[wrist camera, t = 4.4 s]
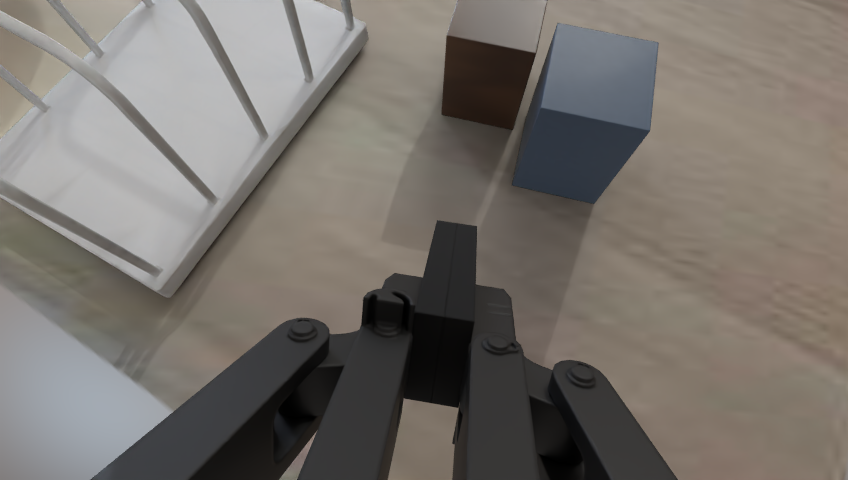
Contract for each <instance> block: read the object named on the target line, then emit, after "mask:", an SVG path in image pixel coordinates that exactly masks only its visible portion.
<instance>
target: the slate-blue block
mask: <svg viewBox="0 0 848 480" xmlns="http://www.w3.org/2000/svg"><path fill="white" fill-rule="evenodd" d="M657 53H658V42H653V41H648V40H643V39H638V38H633V37H628V36H623V35H617V34H612V33H607V32H602V31H597V30H592V29H587V28H582V27H576V26H571V25H566V24H561V23H558V24H557V26H556V29H555V32H554V35H553V38H552V41H551V44H550V47H549V50H548V53H547V56H546V59H545V62H544V65H543V68H542V71H541V74H540V77H539V80H538V83H537V86H536V89H535V92H534V95H533V98H532V101H531V104H530V107H529V110H528V113H527V116H526V121H525V125H524V130H523V135H522V140H521V144H520V149H519V154H518V158H517V163H516V168H515V173H514V177H513V182H512V185H513V186H518V187H522V188H527V189H531V190H535V191H540V192H544V193H549V194H553V195H557V196H562V197H566V198H571V199H575V200H579V201H584V202H588V203H593V204H594V203H595V202H596V201H597V199H598V198H599V197H600V196H601V194H602V193H603V192H604V190H605V189H606V188H607V186H608V185H609V184H610V182H611V181H612V180H613V179H614V177H615V176H616V175H617V173H618V172H619V171H620V169H621V168H622V167H623V166H624V164H625V163H626V162H627V160H628V159H629V158H630V156H631V155H632V154H633V152H634V151H635V150H636V149H637V147H638V146H639V145H640V143H641V142H642V141H643V139H644V138H645V137H646V136H647V134H648V133H649V132H650V126H651V116H652V106H653V95H654V85H655V74H656V64H657Z"/></svg>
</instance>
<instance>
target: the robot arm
mask: <svg viewBox="0 0 848 480" xmlns="http://www.w3.org/2000/svg"><path fill="white" fill-rule="evenodd" d="M476 246H477V226H471V225H465V224H458V223H451V222H445V221H438V220H437V223H436V227H435V231H434V235H433V239H432V243H431V247H430V251H429V255H428V260H427V264H426V268H425V272H424V276H423V278H422V277H416V276H409V275H403V274H397V273H394V274H393V275H391V276H390V277H389V278H387V279H386V280H385V282H384V285H383V287H382V289H376V290H373V291H371V292H368V293H367V294H366V295H365V296H364V299H363V312H362V325H361V327H360V330H358V331H355V332H351V333H346V334H330V333H329V328H328V327H327V326H326V325H325V324H324V323H322V322H320V321H318V320H315V319H310V318H296V319H292V320H289V321H286V322H284V323H283V324H281V325H279V326H278V327H277V328H276V329H274V330H273V331H272V332H271V333H269V334H268V335H267V336H266V337H265V338H263V339H262V340H261V341H260V342H258V343H257V344H256V345H255V346H254V347H252V348H251V349H250V350H249V351H247V352H246V353H245V354H244V355H243V356H241V357H240V358H239V359H238V360H236V361H235V362H234V363H233V364H232V365H230V366H229V367H228V368H227V369H225V370H224V371H223V372H222V373H220V374H219V375H218V376H217V377H216V378H214V379H213V380H212V381H211V382H209V383H208V384H207V385H206V386H205V387H203V388H202V389H201V390H200V391H198V392H197V393H196V394H195V395H194V396H192V397H191V398H190V399H189V400H187V401H186V402H185V403H184V404H183V405H181V406H180V407H179V408H178V409H176V410H175V411H174V412H173V413H172V414H170V415H169V416H168V417H167V418H165V419H164V420H163V421H162V422H161V423H159V424H158V425H157V426H156V427H154V428H153V429H152V430H151V431H149V432H148V433H147V434H146V435H145V436H143V437H142V438H141V439H140V440H138V441H137V442H136V443H135V444H134V445H132V446H131V447H130V448H129V449H127V450H126V451H125V452H124V453H123V454H121V455H120V456H119V457H118V458H116V459H115V460H114V461H113V462H112V463H110V464H109V465H108V466H107V467H106V468H104V469H103V470H102V471H101V472H99V473H98V474H97V475H96V476H94V477H93V478H92V479H91V480H279V479H280V477H281V476H282V475H283V473H284V472H285V471H286V470H287V468H288V467H289V466H290V464H291V463H292V462H293V461H294V459H295V458H296V457H297V456H298V454H299V453H300V452H301V450H302V449H303V448H304V447H305V445H306V444H307V443H308V441H309V440H310V439H311V438H312V436H313V435H314V434H315V432H316V431H317V430H318V431H317V433H316V435H315V438H314V440H313V443H312V445H311V447H310V450H309V452H308V455H307V457H306V459H305V462H304V464H303V467H302V469H301V471H300V474H299V476H298V479H297V480H388V475H389V470H390V466H391V461H392V456H393V451H394V447H395V442H396V437H397V432H398V428H399V423H400V418H401V413H402V406H403V398H405V399H411V400H417V401H423V402H428V403H434V404H440V405H446V406H452V407H457V408H458V407H459V411H458V416H457V421H456V427H455V432H454V437H453V442H452V444H455V449H454V464H453V478H452V480H678V479H677V478H676V476H675V475H674V474H673V472H672V471H671V469H670V468H669V466H668V465H667V464H666V462H665V461H664V459H663V458H662V456H661V455H660V454H659V452H658V451H657V449H656V448H655V446H654V445H653V444H652V442H651V441H650V439H649V438H648V436H647V435H646V434H645V432H644V431H643V429H642V428H641V427H640V425H639V424H638V422H637V421H636V419H635V418H634V417H633V415H632V414H631V412H630V411H629V409H628V408H627V407H626V405H625V404H624V402H623V401H622V399H621V398H620V397H619V395H618V394H617V392H616V391H615V389H614V388H613V387H612V385H611V384H610V382H609V381H608V379H607V378H606V377H605V376H604V375H603V374H602V373H601V372H600V371H599V370H597V369H596V368H594V367H592V366H591V365H588V364H586V363H583V362H580V361H573V360H566V361H560V362H559V363H557V364H555V366H554V368H553V370H550V369H548V368H545V367H542V366H540V365H538V364H536V363H533V362H532V361H530V360H529V359H527V358H526V357H525V356H524V354H523V350H522V347H521V345H520V344H519V343H518V342H517V341H516V337H515V328H514V320H513V311H512V302H511V298H510V296H509V295H508V294H507V293H506V291H505V290H504V289H499V288H493V287H487V286H480V285H476ZM459 402H460V405H459Z"/></svg>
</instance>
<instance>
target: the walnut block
mask: <svg viewBox="0 0 848 480" xmlns="http://www.w3.org/2000/svg"><path fill="white" fill-rule="evenodd" d="M547 1H548V0H458V1H457V4H456V7H455V10H454V13H453V17H452V20H451V23H450V26H449V30H448V33H447V38H446V53H445V68H444V84H443V99H442V115H446V116H451V117H455V118H460V119H465V120H469V121H474V122H478V123H483V124H488V125H492V126H497V127H501V128H506V129H511V130H513V127H514V124H515V121H516V117H517V114H518V111H519V108H520V104H521V101H522V98H523V95H524V91H525V88H526V85H527V82H528V78H529V75H530V72H531V69H532V65H533V62H534V59H535V55H536V52H537V47H538V42H539V38H540V33H541V29H542V24H543V19H544V15H545V10H546V5H547Z"/></svg>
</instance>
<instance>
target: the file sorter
mask: <svg viewBox="0 0 848 480" xmlns="http://www.w3.org/2000/svg"><path fill="white" fill-rule="evenodd" d="M47 1H48V2H49V4H50V5H51V6H52V7H53V8H54V9H55V10H56V11H57V12H58V14H59V15H60V16H61V17H62V18H63V19H64V20H65V21H66V22H67V24H68V25H69V26H70V27H71V28H72V29H73V30H74V32H75V33H76V34H77V35H78V36H79V37H80V38H81V39H82V41H83V42H84V43H85V44H86V45H87V46H88V47H89V48H90V49H91V51H90V52H89V53H88V54H87V55H86V56H85V57H84V58H83V59H81V58H80V57H79V56H77V55H76V54H75V53H73V52H72V51H70V50H69V49H67V48H66V47H65V46H63V45H62V44H60V43H58V42H57V41H55V40H53V39H52V38H50V37H49V36H47V35H45V34H43V33H42V32H40V31H38V30H36V29H34V28H32V27H30V26H28V25H27V24H25V23H23V22H21V21H19V20H17V19H15V18H13V17H11V16H10V15H8V14H6V13H4V12H2V11H0V27H2V28H4V29H6V30H8V31H10V32H11V33H13V34H15V35H17V36H19V37H21V38H22V39H24V40H26V41H28V42H30V43H32V44H34V45H36V46H37V47H39V48H41V49H43V50H45V51H46V52H48V53H49V54H51V55H53V56H54V57H56V58H57V59H59V60H61V61H62V62H64V63H65V64H67V65H68V66H69V67H71V68H72V70H71V71H70V72H69V73H67V74H66V75H65V76H64V77H63V78H62V79H61V80H60V81H59V82H58V83H57V84H56V85H55V86H54V87H53V88H52V89H51V90H50V91H49V92H48V93H47V94H46V95H45V96H44V97H43V98H42V99H40V98H39V97H38V96H37V95H35V94H34V93H33V92H32V91H31V90H30V89H28V88H27V87H26V86H25V85H24V84H23V83H21V82H20V81H19V80H18V79H17V78H16V77H14V76H13V75H12V74H11V73H10V72H9V71H8V70H6V69H5V68H4V67H3V66H2V65H1V64H0V77H1V78H3V79H4V80H5V81H6V82H7V83H9V84H10V85H11V86H12V87H13V88H15V89H16V90H17V91H18V92H19V93H21V94H22V95H23V96H24V97H25V98H27V99H28V100H29V101H30V102H31V103H33V104H34V105H35V106H34V107H33V108H31V109H30V110H29V111H28V112H27V113H26V114H25V115H24V116H23V117H22V118H21V119H20V120H19V121H18V122H17V123H16V124H15V125H14V126H13V127H12V128H11V129H10V130H9V131H8V132H7V133H6V134H5V135H4V136H3V137H2V138H1V139H0V198H2V199H4V200H5V201H7V202H9V203H10V204H12V205H13V206H15V207H17V208H18V209H20V210H22V211H23V212H25V213H27V214H28V215H30V216H32V217H33V218H35V219H36V220H38V221H40V222H41V223H43V224H45V225H46V226H48V227H50V228H51V229H53V230H55V231H56V232H58V233H60V234H61V235H63V236H64V237H66V238H68V239H69V240H71V241H73V242H74V243H76V244H78V245H79V246H81V247H83V248H84V249H86V250H88V251H89V252H91V253H93V254H94V255H96V256H98V257H99V258H101V259H102V260H104V261H106V262H107V263H109V264H111V265H112V266H114V267H116V268H117V269H119V270H121V271H122V272H124V273H125V274H127V275H129V276H130V277H132V278H134V279H135V280H137V281H139V282H140V283H142V284H144V285H145V286H147V287H148V288H150V289H152V290H153V291H155V292H157V293H159V294H160V295H162V296H164V297H168V298H169V297H171V296H172V295H173V294H174V293H175V292H176V291H177V289H178V288H179V287H180V285H181V284H182V283H183V281H184V280H185V278H186V277H187V276H188V274H189V273H190V272H191V271H192V269H193V268H194V267H195V265H196V264H197V263H198V261H199V260H200V259H201V257H202V256H203V255H204V253H205V252H206V251H207V249H208V248H209V247H210V245H211V244H212V243H213V241H214V240H215V239H216V238H217V236H218V235H219V234H220V232H221V231H222V230H223V229H224V227H225V226H226V225H227V223H228V222H229V221H230V219H231V218H232V217H233V215H234V214H235V213H236V211H237V210H238V209H239V207H240V206H241V205H242V203H243V202H244V201H245V200H246V198H247V197H248V196H249V195H250V193H251V192H252V191H253V189H254V188H255V187H256V186H257V184H258V183H259V182H260V180H261V179H262V178H263V176H264V175H265V174H266V172H267V171H268V170H269V169H270V167H271V166H272V165H273V163H274V162H275V161H276V159H277V158H278V157H279V155H280V154H281V153H282V152H283V150H284V149H285V148H286V146H287V145H288V144H289V142H290V141H291V140H292V139H293V137H294V136H295V135H296V133H297V132H298V131H299V129H300V128H301V127H302V125H303V124H304V123H305V122H306V120H307V119H308V118H309V116H310V115H311V114H312V112H313V111H314V110H315V108H316V107H317V106H318V104H319V103H320V102H321V101H322V99H323V98H324V97H325V95H326V94H327V93H328V91H329V90H330V89H331V88H332V86H333V85H334V84H335V82H336V81H337V80H338V78H339V77H340V76H341V75H342V73H343V72H344V71H345V69H346V68H347V67H348V66H349V64H350V63H351V62H352V60H353V59H354V58H355V56H356V55H357V54H358V52H359V51H360V50H361V49H362V47H363V46H364V45H365V44H366V42H367V41H368V32H367V27H366V24H365V22H363V21H361V20H358V19H356V18H354V17H353V14H352V9H351V3H350V0H341V4H342V8H343V13H342V12H340V11H338V10H335V9H333V8H331V7H329V6H326V5H324V4H322V3H319V2H317V1H315V0H142V1H141V2H140V3H139V4H138V5H137V6H136V7H135V8H134V9H133V10H132V11H131V12H130V13H129V14H128V15H127V16H126V17H125V18H124V19H123V20H122V21H121V22H120V23H119V24H118V25H117V26H116V27H115V28H114V29H113V30H112V31H111V32H110V33H109V34H108V35H106V36H105V37H104V38H103V39H102V40H101V41H100V42H99V43H98V44H97V43H96V42H95V41H94V40H93V39H92V38H91V36H90V35H89V34H88V33H87V32H86V31H85V30H84V28H83V27H82V26H81V25H80V24H79V23H78V21H77V20H76V19H75V18H74V17H73V15H72V14H71V13H70V12H69V11H68V10H67V9H66V7H65V6H64V5H63V4H62V2H61V1H60V0H47Z"/></svg>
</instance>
